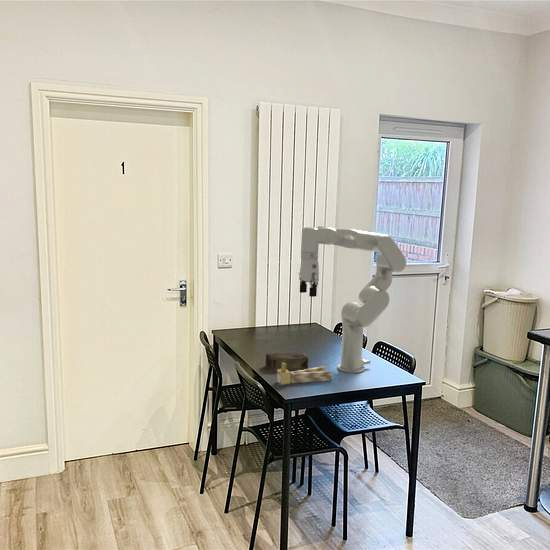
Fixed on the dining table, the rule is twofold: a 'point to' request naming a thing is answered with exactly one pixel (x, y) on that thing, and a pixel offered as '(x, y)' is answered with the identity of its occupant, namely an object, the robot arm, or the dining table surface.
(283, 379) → the lock collar
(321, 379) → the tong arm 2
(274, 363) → the beverage carton
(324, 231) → the robot arm
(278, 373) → the block
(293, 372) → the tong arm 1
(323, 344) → the dining table surface
